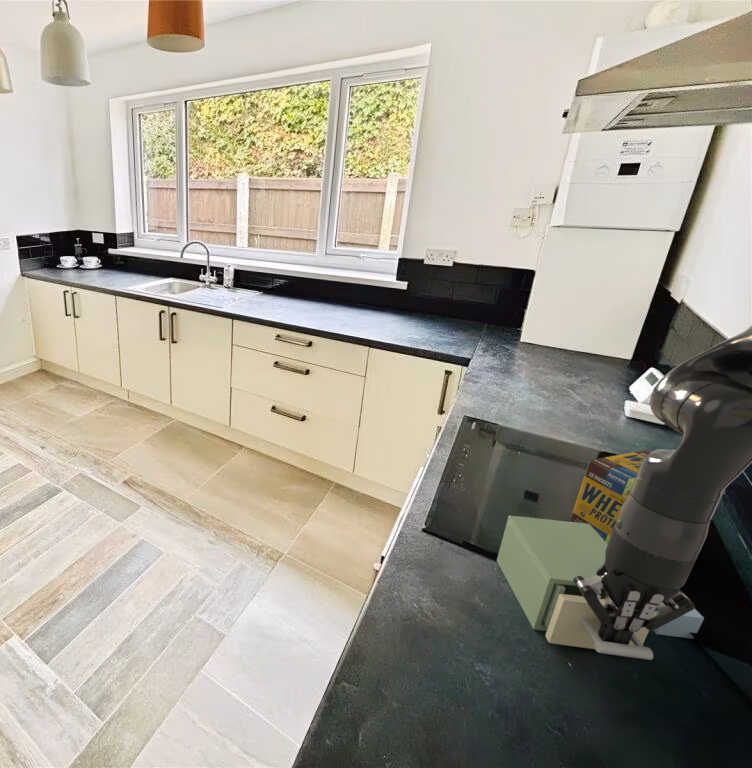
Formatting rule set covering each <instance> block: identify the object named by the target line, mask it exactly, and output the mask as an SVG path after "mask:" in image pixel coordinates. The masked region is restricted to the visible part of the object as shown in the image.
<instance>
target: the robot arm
mask: <svg viewBox="0 0 752 768" xmlns="http://www.w3.org/2000/svg"><path fill="white" fill-rule="evenodd" d="M649 407H650V411H651V412H652V414H653V416H655V417H656V419H658V420H659V421H660V422H662V423H663V424H665V425H666V426H668V427H670V428H671V429H673V430H674V431H676V432H678V433H679V434H681V435H682V439H681V441H680V444H679V446H678V447H677V448H676V449H670V448H660V449H655V450H652V451H649V452H650V453H649V454H647V455H646V457H645V458H644V460H643V461H642V463H641V465H640V468H639V470H638V473H637V476H636V479H635V481H634V484H633V486H632V489H631V492H630V494H629V496H628V497H627V499H626V501H625V502H624V504H623V506H622V508H621V510H620V513H619V516H618V518H617V521H616V524H615V526H614V529H613V531H612V534H611V537H610V539H609V542H608V545H607V547H606V551H605V563H604V564H603V565H602V566H601V567H600V568H599V569H598V570H597V573H596V575H597V576H594V577H591V578H588V579H586V580H585V579H584V578H583V577H582V576H576V577H575V578H574V579H573V581H574V583H575V584H576V586H577V587H578V589H579V590H580V592H581V594H582V595H583V597H584V598H585V600H586V601H587V603H588V605H589V606H590V608H591V609H592V610H593V612H594V613H595V615H596V616H597V618H598V619H599V620H600V622H601V623H602V624H601V626H600V629H599V631H598V636H599V637H600V639H601V640H602V641H605V642H612V643H620V644H627V645H628V644H629V641H630V639H631V637H632V635H633V633H634V632H637V631H639V630H640V628H643V627H646V628H647V629H648V630H649V631H653V630H655V629H657V628H659V627H661V626H663V625H665V624H667V623H669V622H671V621H673V620H674V619H676V618H678V617H680V616H682V615H684V614H686V613H688V612H690V611H692V610H693V609H694V608H695V609H696V605H695V604H694V603H693V602H692V601H691V599H690V598H689V597H688V596H687V595H686V594H685V593H684V592H682V590H681V588H683V587H684V586H685V584H686V583H687V580H688V578H689V576H690V574H691V572H692V569H693V567H694V566H695V563H696V560H698V559H697V558H698V556H699V555H700V552H701V550H702V548H703V546H704V544H705V541H706V539H707V537H708V533H709V527H710V524H711V521H712V518H713V516H714V514H715V512H716V510H717V508H718V505H719V504H720V501H721V499H722V496H723V493H724V492H725V490H726V488H728V487H729V485H730V484H732V482H734V480H736V479H737V478H739V476H740V475H741V474H742V473H743V472H744V471H745V470H746V469H747V468H748V467H749V466H750V465H751V464H752V325H750V326H749V327H748V328H747V329H746V330H744V331H742V332H740V333H738V334H736V335H733V337H730V338H727V339H726V340H723V341H721V342H719V343H717V344H715V345H714V346H712V347H709V348H708V349H706V350H704V351H702V352H700V353H699V354H696V355H695V356H693V357H691V358H689V359H687V360H686V361H683V362H681V363H680V364H679V365H677V366H675V367H674V368H672V369H671V370H670V371H668V372H667V373H666V374H665V375H663V377H662V378H661V379H660V380H659V381H658V382H657V383H656V385H655V386H654V388H653V389H652V391H651V394H650V398H649ZM602 587H603V588H604V590H605V600H606V602H605V606H604V607H603V606H602V604H601V603H600V601H599V599H598V598H601V595H600V594H601V588H602ZM657 610H658V611H659V614H658V615H657V616H655V617H653V618H651V616H652V615H653V613H654V612H655V611H657Z"/></svg>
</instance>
